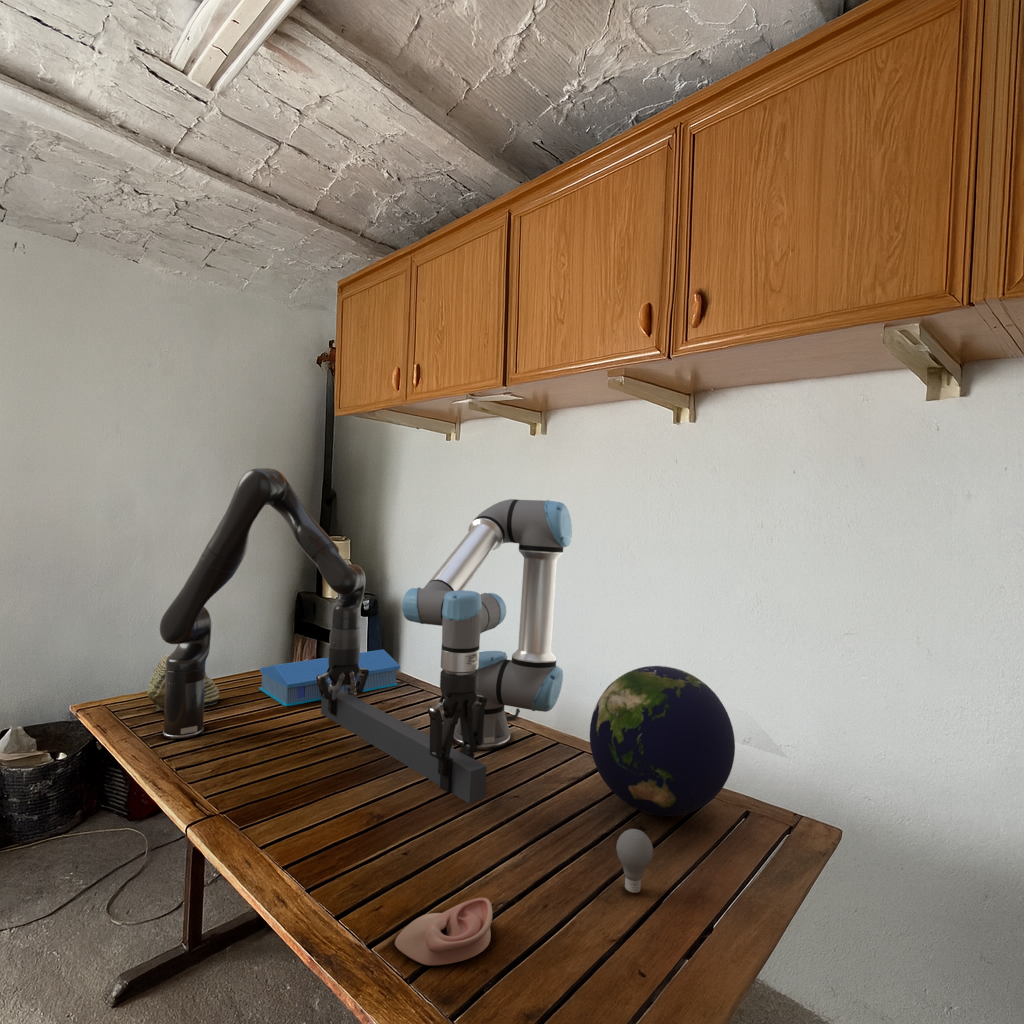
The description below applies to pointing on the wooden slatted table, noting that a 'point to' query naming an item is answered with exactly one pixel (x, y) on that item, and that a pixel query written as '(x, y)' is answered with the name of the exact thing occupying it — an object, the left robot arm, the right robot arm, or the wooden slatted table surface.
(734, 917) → the wooden slatted table surface
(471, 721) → the right robot arm
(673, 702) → the globe
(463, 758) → the beam
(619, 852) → the light bulb
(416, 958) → the anatomical model
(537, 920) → the wooden slatted table surface
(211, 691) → the fossil
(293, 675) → the model building
